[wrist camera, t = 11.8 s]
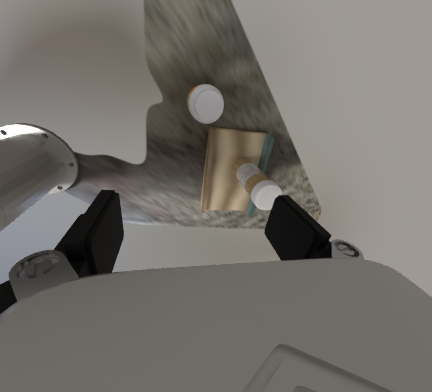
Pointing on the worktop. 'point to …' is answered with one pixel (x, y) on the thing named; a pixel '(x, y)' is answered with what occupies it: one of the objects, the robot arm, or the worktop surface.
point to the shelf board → (222, 167)
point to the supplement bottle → (205, 103)
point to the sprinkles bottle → (256, 183)
